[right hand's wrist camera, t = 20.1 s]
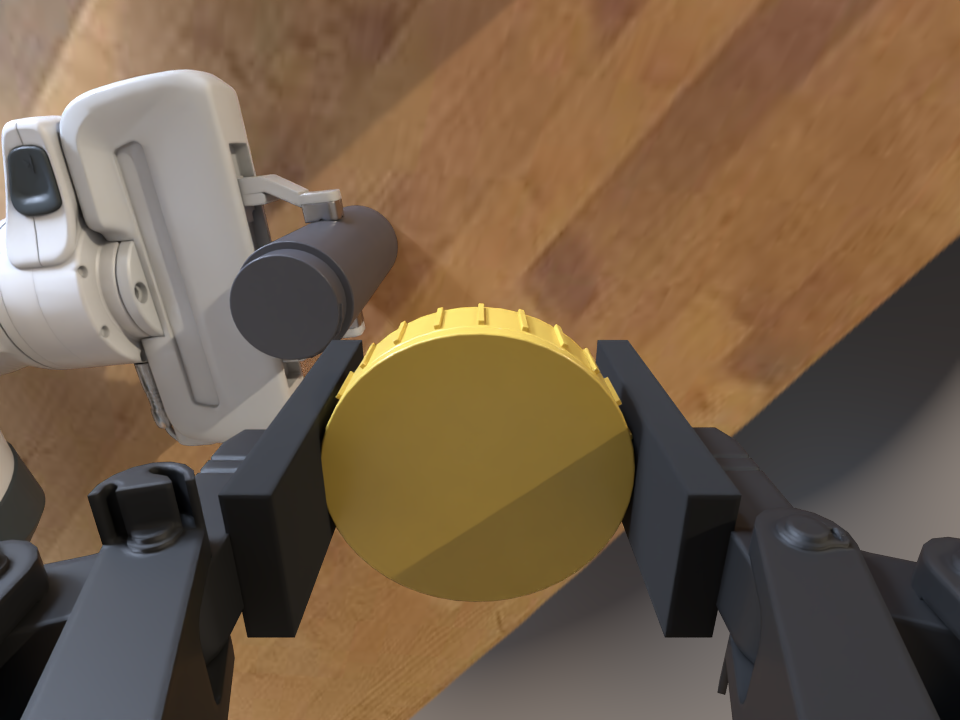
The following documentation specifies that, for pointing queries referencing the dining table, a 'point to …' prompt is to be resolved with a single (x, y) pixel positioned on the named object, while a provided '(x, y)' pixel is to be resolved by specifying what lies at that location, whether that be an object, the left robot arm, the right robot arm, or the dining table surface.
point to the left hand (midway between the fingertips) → (351, 263)
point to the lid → (477, 456)
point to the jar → (312, 283)
